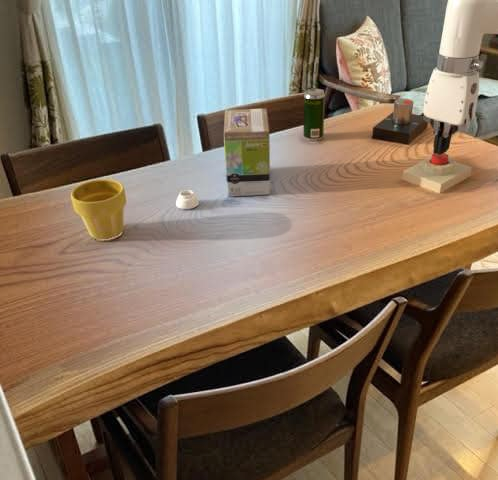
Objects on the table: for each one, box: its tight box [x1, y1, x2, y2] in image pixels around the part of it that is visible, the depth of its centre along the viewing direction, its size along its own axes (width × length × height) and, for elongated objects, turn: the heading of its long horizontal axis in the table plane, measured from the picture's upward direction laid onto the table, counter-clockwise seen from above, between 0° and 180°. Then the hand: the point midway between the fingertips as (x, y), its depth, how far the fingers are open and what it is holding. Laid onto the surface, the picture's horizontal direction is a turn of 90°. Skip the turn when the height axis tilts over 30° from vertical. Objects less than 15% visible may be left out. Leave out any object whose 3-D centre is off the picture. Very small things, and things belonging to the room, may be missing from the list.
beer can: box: [302, 88, 326, 142], centre depth 142 cm, size 5×5×12 cm
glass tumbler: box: [392, 98, 415, 125], centre depth 142 cm, size 5×5×6 cm
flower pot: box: [70, 178, 127, 242], centre depth 108 cm, size 10×10×10 cm
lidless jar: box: [175, 189, 200, 210], centre depth 118 cm, size 5×3×5 cm
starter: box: [401, 155, 473, 194], centre depth 122 cm, size 12×10×4 cm
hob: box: [371, 111, 429, 146], centre depth 145 cm, size 14×10×3 cm
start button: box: [431, 152, 450, 166], centre depth 121 cm, size 4×4×2 cm
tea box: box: [223, 108, 271, 197], centre depth 122 cm, size 15×10×15 cm, turn 1°
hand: (440, 152), depth 120 cm, fingers closed
